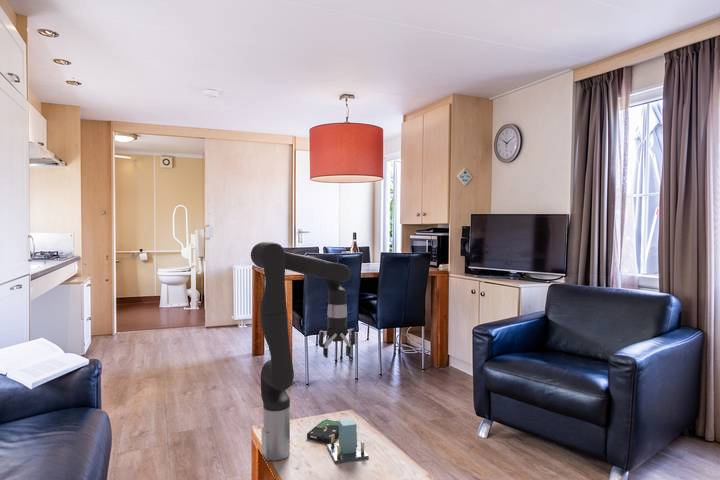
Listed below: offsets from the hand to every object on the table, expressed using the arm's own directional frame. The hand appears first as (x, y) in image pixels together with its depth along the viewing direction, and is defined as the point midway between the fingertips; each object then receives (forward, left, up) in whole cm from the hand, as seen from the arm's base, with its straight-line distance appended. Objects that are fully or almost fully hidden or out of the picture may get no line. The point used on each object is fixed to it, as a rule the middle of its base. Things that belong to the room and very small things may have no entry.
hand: (336, 356), depth 177 cm
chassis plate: (-3, -16, -30) cm, 34 cm away
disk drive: (-3, +1, -31) cm, 31 cm away
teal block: (-3, -16, -29) cm, 33 cm away
